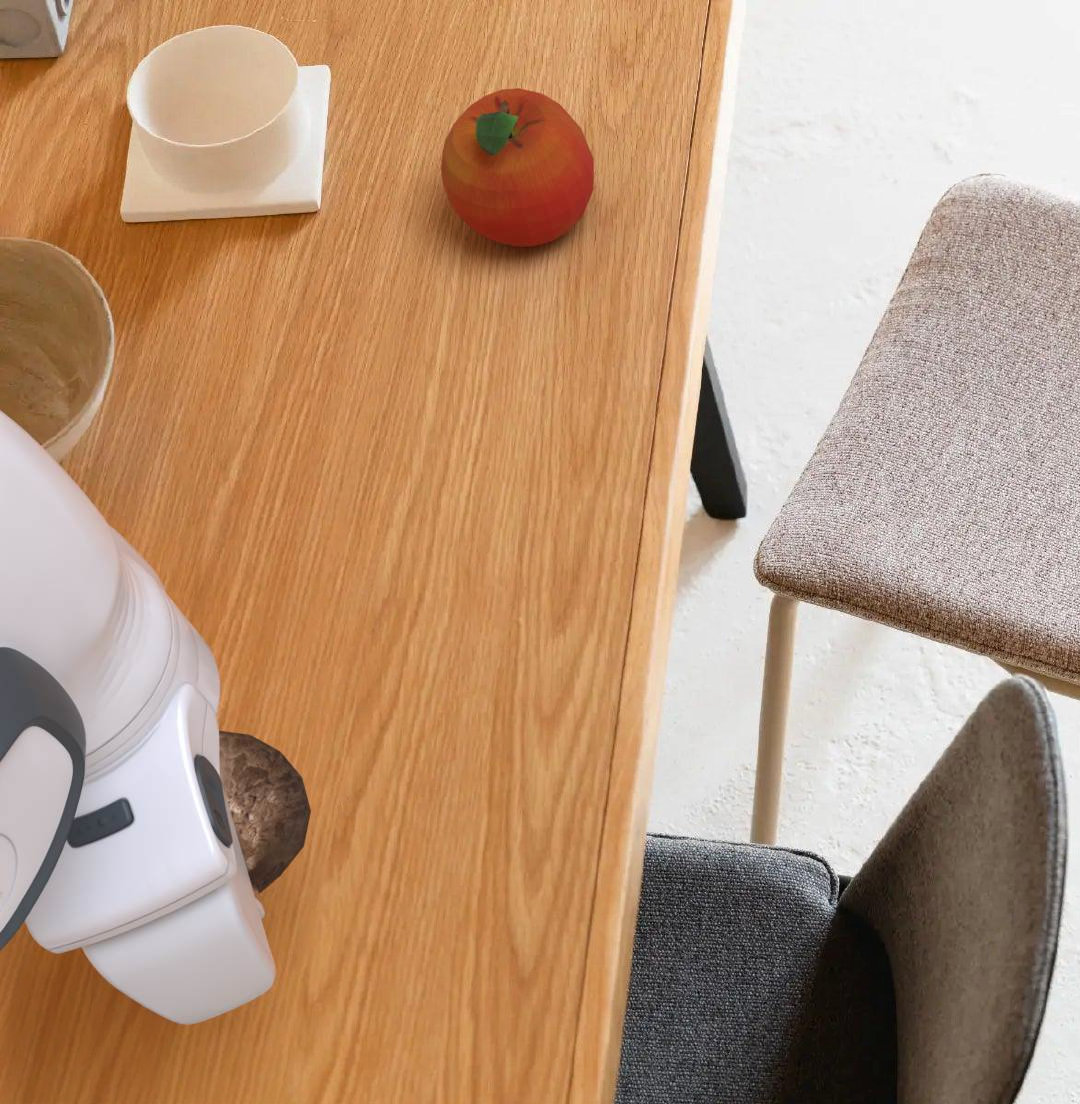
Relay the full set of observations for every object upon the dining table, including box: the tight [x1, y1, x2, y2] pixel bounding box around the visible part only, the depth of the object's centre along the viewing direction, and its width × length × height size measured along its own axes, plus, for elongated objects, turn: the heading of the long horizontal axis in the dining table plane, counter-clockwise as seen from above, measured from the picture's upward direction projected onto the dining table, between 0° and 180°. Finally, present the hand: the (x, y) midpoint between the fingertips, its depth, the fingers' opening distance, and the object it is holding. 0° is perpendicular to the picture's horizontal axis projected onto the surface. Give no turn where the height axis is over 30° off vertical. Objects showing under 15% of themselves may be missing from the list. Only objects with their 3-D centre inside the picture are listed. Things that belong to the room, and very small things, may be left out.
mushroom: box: [219, 730, 312, 895], centre depth 64 cm, size 8×8×6 cm
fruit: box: [440, 87, 595, 248], centre depth 93 cm, size 10×10×10 cm
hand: (220, 828), depth 64 cm, fingers closed on mushroom, 7 cm apart
